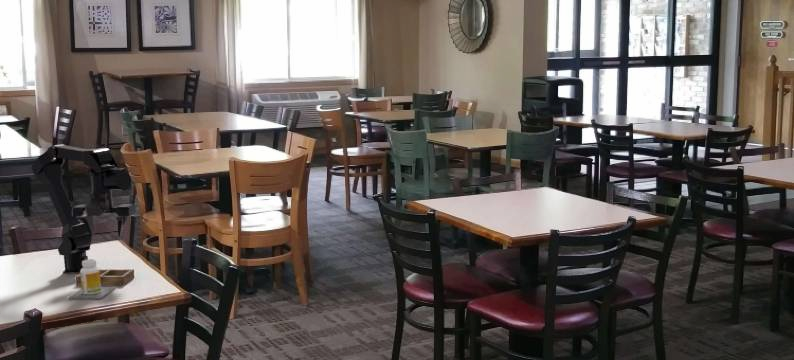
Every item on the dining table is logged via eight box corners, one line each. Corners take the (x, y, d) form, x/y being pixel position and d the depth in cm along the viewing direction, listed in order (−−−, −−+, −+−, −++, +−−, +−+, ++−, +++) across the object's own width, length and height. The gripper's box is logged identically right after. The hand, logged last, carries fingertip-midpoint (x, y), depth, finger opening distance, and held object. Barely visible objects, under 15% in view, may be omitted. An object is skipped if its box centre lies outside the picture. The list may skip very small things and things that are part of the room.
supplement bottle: (105, 290, 259) (102, 258, 257) (93, 295, 254) (90, 263, 252) (90, 288, 261) (87, 257, 259) (78, 294, 256) (75, 262, 254)
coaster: (68, 299, 253) (68, 297, 253) (83, 289, 263) (83, 287, 263) (101, 299, 252) (101, 297, 252) (115, 289, 262) (115, 287, 262)
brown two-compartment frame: (76, 285, 267) (75, 276, 267) (87, 277, 275) (87, 269, 275) (124, 285, 266) (123, 276, 265) (134, 277, 274) (133, 269, 273)
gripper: (61, 193, 264) (66, 243, 267) (119, 193, 263) (124, 242, 265) (77, 187, 275) (82, 234, 278) (134, 186, 274) (138, 234, 276)
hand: (106, 236), depth 274 cm, fingers open, 9 cm apart
